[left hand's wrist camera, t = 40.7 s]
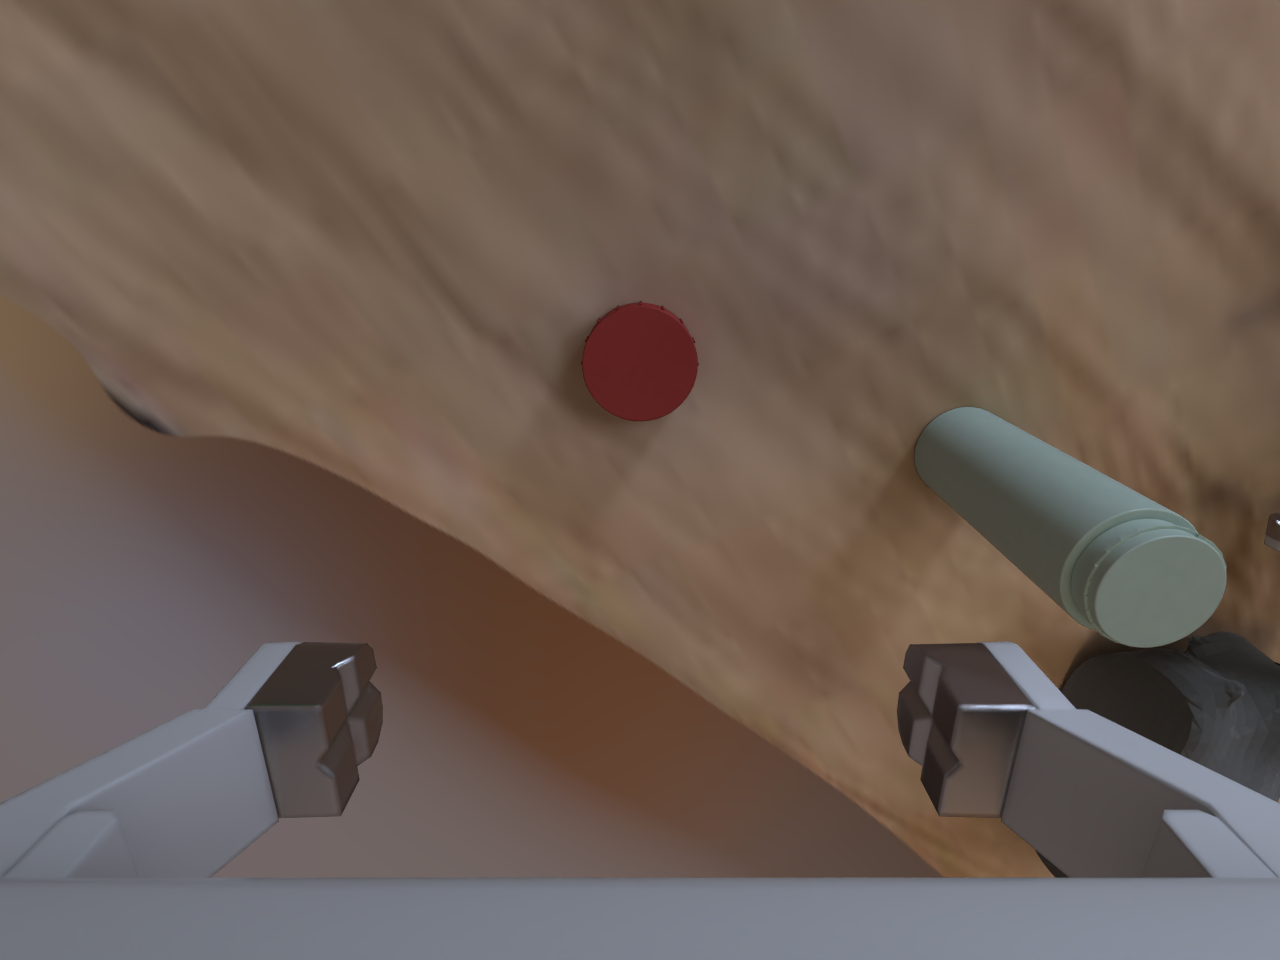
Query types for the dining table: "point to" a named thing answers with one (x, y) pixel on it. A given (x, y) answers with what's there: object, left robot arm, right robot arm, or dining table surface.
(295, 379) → the dining table surface
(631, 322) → the lid
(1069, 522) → the jar
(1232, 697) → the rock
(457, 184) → the dining table surface
